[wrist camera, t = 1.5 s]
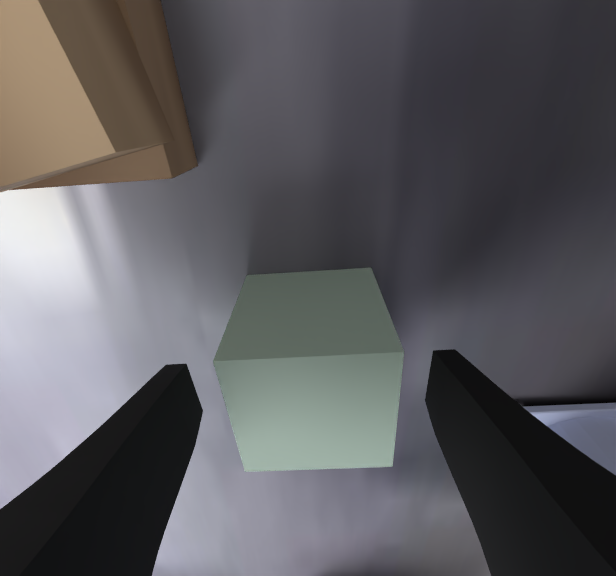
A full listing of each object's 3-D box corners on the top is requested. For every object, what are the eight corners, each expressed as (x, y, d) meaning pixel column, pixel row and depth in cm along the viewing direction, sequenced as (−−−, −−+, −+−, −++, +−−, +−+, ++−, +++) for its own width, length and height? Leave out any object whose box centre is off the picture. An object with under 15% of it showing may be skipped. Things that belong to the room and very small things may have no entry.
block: (370, 266, 11) (404, 351, 7) (367, 360, 13) (392, 466, 9) (247, 274, 11) (212, 361, 7) (264, 365, 13) (244, 471, 9)
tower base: (138, -130, 7) (59, -244, 5) (202, 163, 10) (172, 178, 8) (-123, -102, 7) (-317, -199, 5) (17, 176, 10) (-65, 195, 8)
